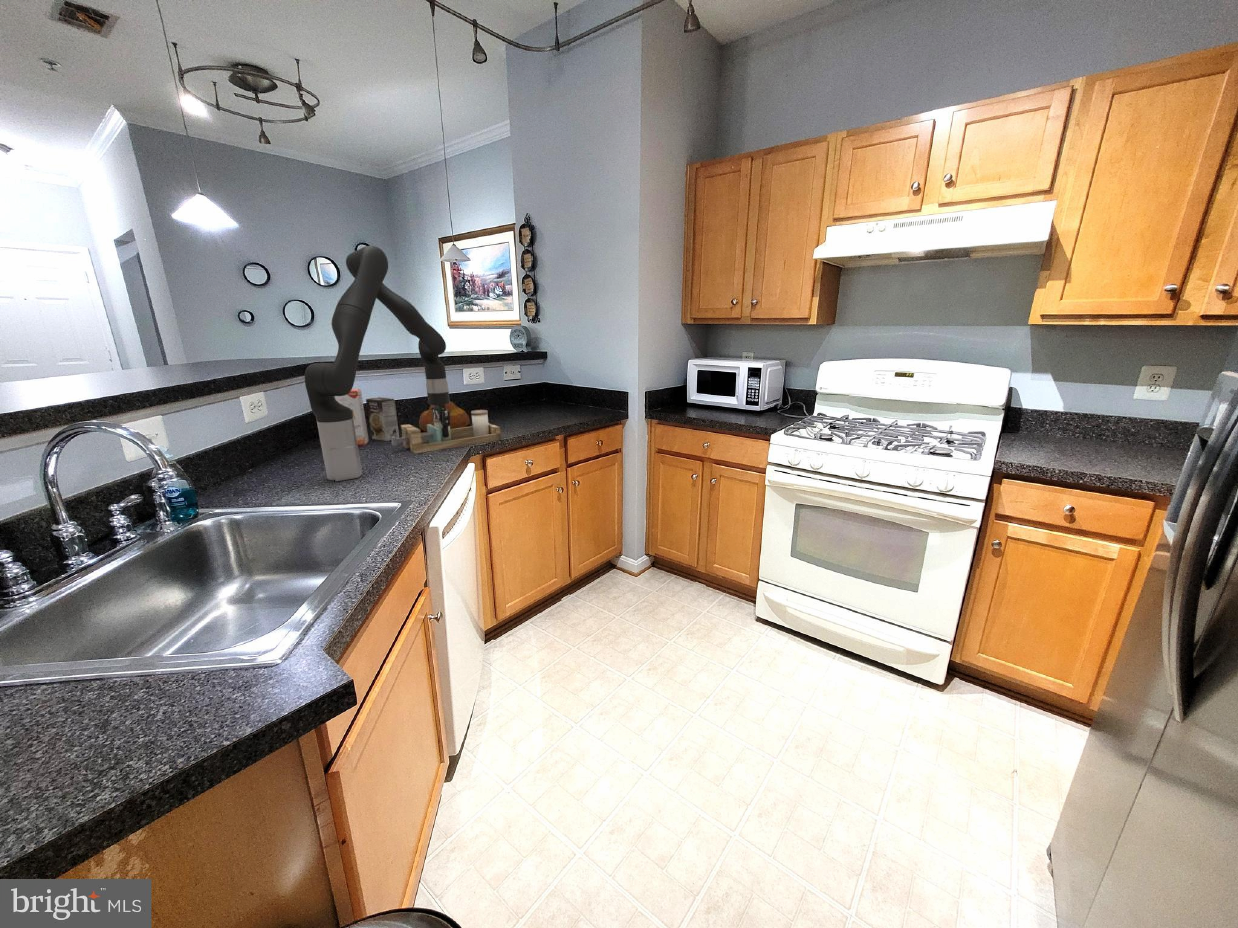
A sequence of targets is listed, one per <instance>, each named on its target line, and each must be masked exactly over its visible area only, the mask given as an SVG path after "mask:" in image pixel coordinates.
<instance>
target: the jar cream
mask: <svg viewBox="0 0 1238 928" xmlns="http://www.w3.org/2000/svg"><path fill="white" fill-rule="evenodd" d="M488 413H489V412H488V410H487V409H475V410H471V412H470V415H471V421H472V426H473V434H474V436H473V437H477V436H483V435H489V425H488V423H489V417H488Z"/></svg>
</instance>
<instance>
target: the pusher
mask: <svg viewBox="0 0 1238 928" xmlns="http://www.w3.org/2000/svg"><path fill="white" fill-rule="evenodd" d="M427 431H428V434H424V435H421V439H429V443H428V444H430V443H437V442H441V436H440V429H439V428H437V427H435V426H433V425H431V424H427ZM390 441H391V445H392V446H393V447H394V446H397V444H398V443H403V442H407V441H409V437H402V436H401V437H399V438H396V437H394V436H392V437H391V440H390Z"/></svg>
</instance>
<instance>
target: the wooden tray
mask: <svg viewBox="0 0 1238 928" xmlns="http://www.w3.org/2000/svg"><path fill="white" fill-rule="evenodd" d="M488 425H489V435H483V436H477V437H474V434H473V425H470V426H466V427H463V428H456V429H450V431H451V439H452V440H450V441H443V442H437V443H429V439H421V435H424V434H428V432H421V431H422V429H420V428H417V427H415V426H414V425H411V424H409V423H408V424H400V428H401V438H402V437H409V441H407V442H402V445H403V447H404V448H405V449H410V452H411V451H412V452H411V453H413V454H414V453H415V454H420V453H426V452H427V451H428V452H433V451H440V450H446V449H453V448H459V447H465V446H472V445H477V444H483V443H484V444H485V443H490V442H496V441H501V440H502V435H501V427H500V426H498V425H495V424H492V423H489V422H488ZM428 452H427V453H428Z"/></svg>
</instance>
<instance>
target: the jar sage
mask: <svg viewBox="0 0 1238 928" xmlns="http://www.w3.org/2000/svg"><path fill="white" fill-rule="evenodd" d="M433 421H434V426H435V427H437V428H439V429H440V436H441V442H443V441H450V440H452V439H451V431H450V426H449V427H448V431H449V437H446V438H444V437H443V436H442V427H441V424H440V422H439V420H438V418H437V419H433ZM445 423H446V421H445Z"/></svg>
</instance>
